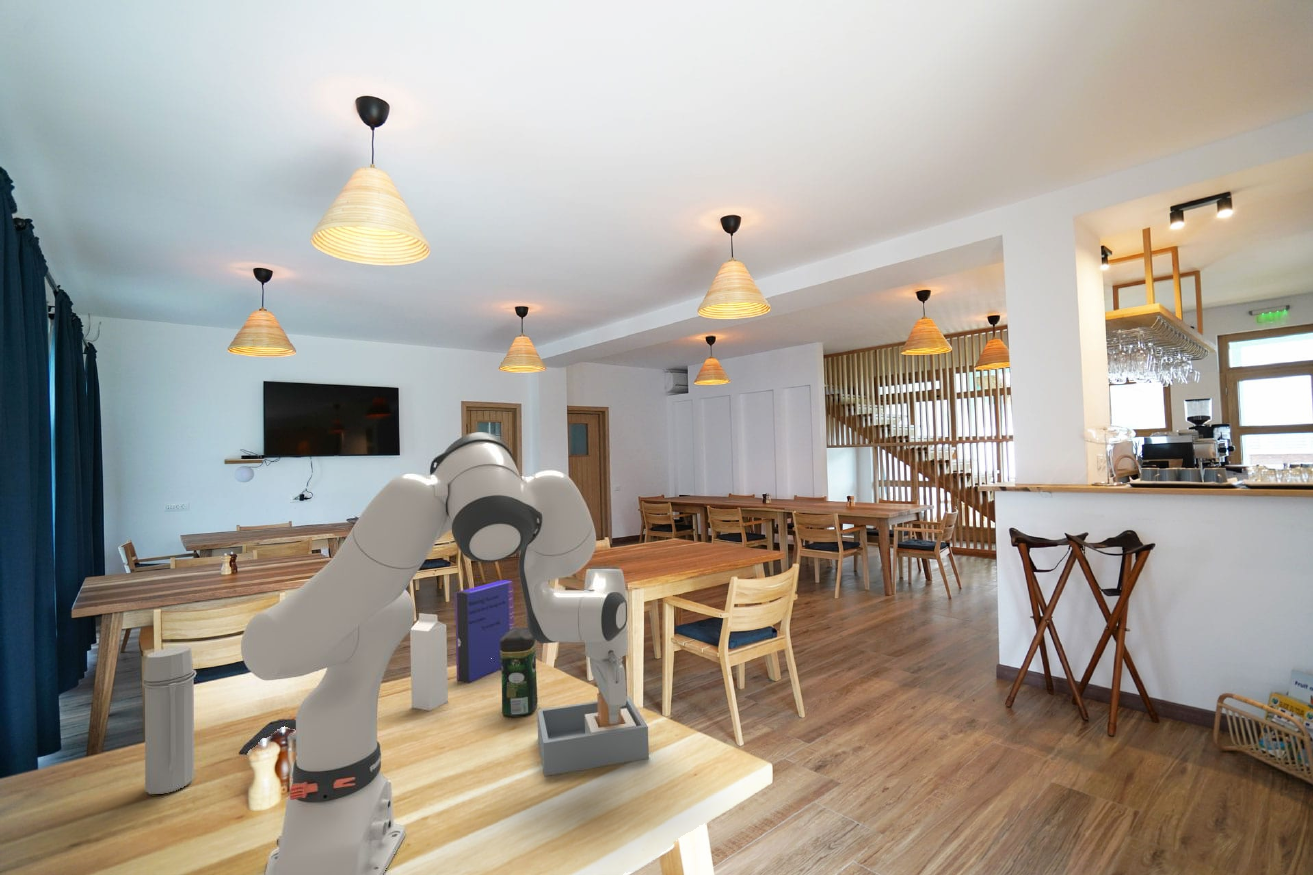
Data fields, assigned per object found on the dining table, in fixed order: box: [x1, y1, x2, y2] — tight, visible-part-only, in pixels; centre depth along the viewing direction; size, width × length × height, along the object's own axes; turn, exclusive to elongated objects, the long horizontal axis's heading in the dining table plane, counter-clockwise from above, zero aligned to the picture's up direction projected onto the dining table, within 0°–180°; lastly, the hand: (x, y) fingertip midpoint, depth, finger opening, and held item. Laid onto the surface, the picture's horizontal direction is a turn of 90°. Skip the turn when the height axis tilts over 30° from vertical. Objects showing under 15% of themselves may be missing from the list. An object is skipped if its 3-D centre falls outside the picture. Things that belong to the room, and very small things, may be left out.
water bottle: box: [141, 646, 197, 795], centre depth 112 cm, size 9×8×25 cm
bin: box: [536, 696, 650, 777], centre depth 122 cm, size 16×20×6 cm
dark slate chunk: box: [238, 718, 296, 756], centre depth 131 cm, size 15×22×5 cm
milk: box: [409, 612, 449, 712], centre depth 148 cm, size 6×6×22 cm
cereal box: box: [454, 579, 515, 684], centre depth 170 cm, size 17×5×24 cm, turn 150°
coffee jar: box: [500, 626, 538, 718], centre depth 143 cm, size 10×8×19 cm
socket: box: [585, 708, 636, 734], centre depth 123 cm, size 9×9×4 cm
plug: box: [597, 692, 621, 728], centre depth 123 cm, size 4×4×10 cm
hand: (608, 712), depth 123 cm, fingers open, 8 cm apart
